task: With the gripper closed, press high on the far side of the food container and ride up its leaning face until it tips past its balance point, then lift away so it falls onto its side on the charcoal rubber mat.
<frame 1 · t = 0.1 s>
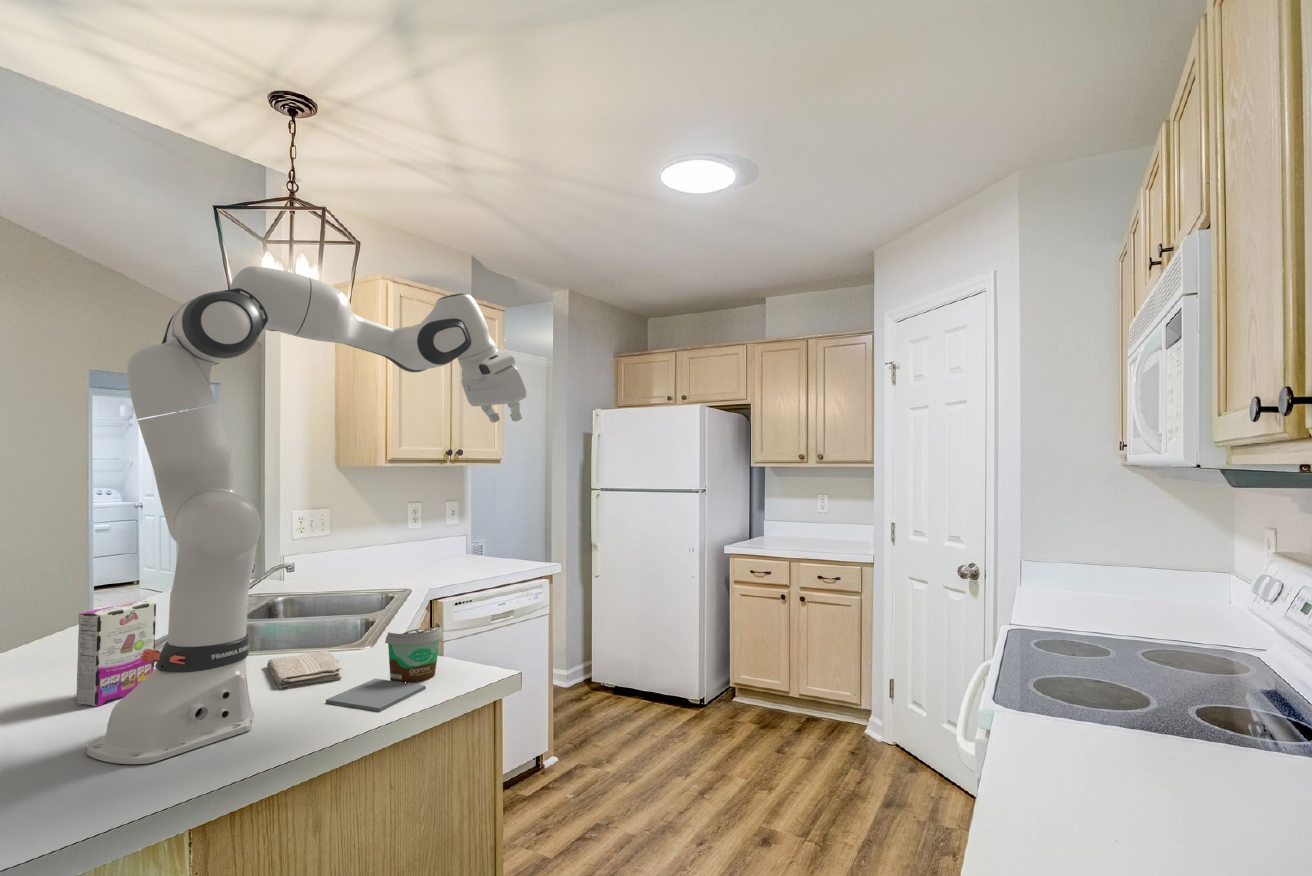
hand: (506, 420, 153), 54 cm above the countertop, tool tilted 30°, fingers open, 8 cm apart
washcloth: (304, 676, 140), on the countertop
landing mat: (377, 695, 128), on the countertop
candy bar box: (115, 697, 125), on the countertop
food container: (419, 679, 138), on the countertop
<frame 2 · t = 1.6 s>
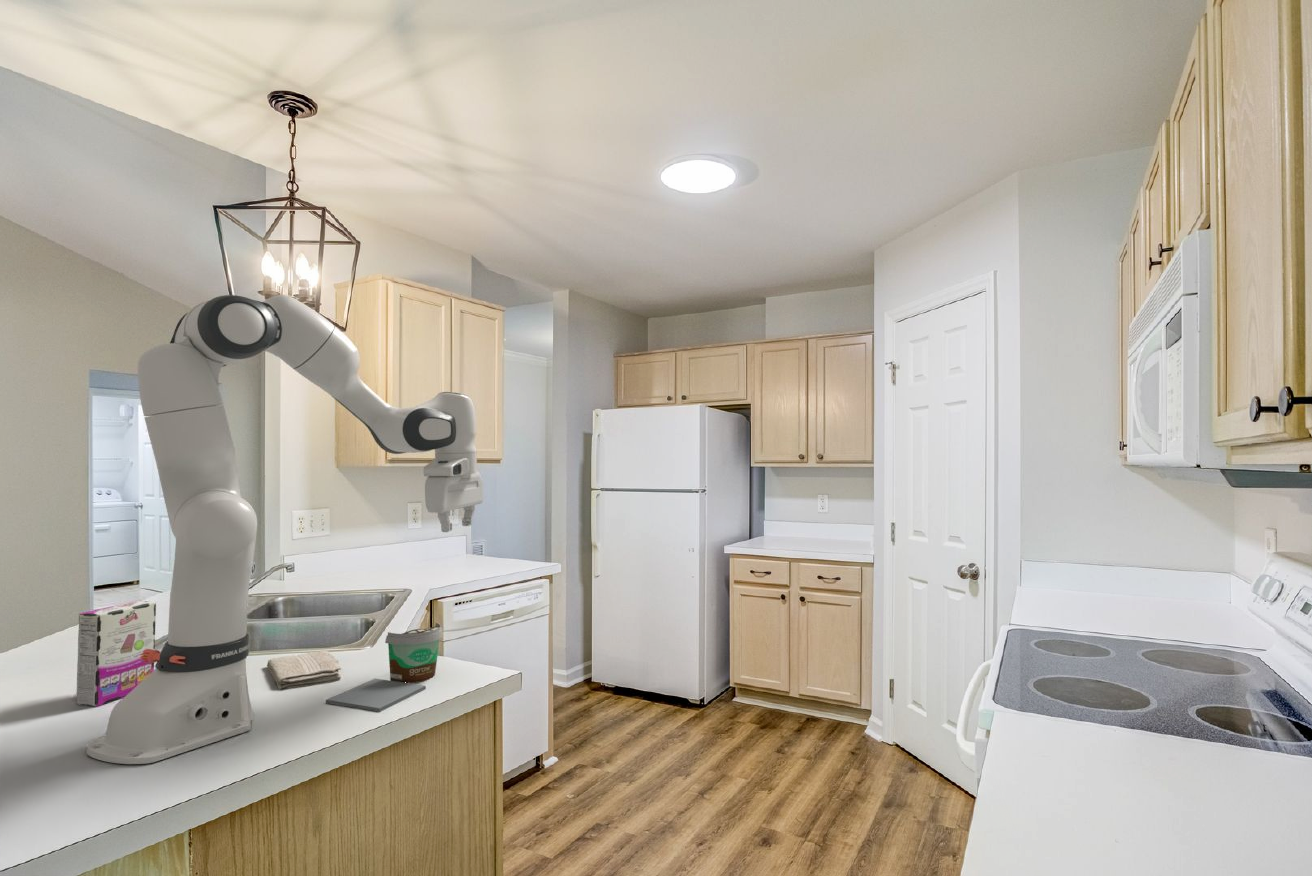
hand: (457, 528, 149), 30 cm above the countertop, tool pointing down, fingers open, 8 cm apart
nothing on the countertop moved.
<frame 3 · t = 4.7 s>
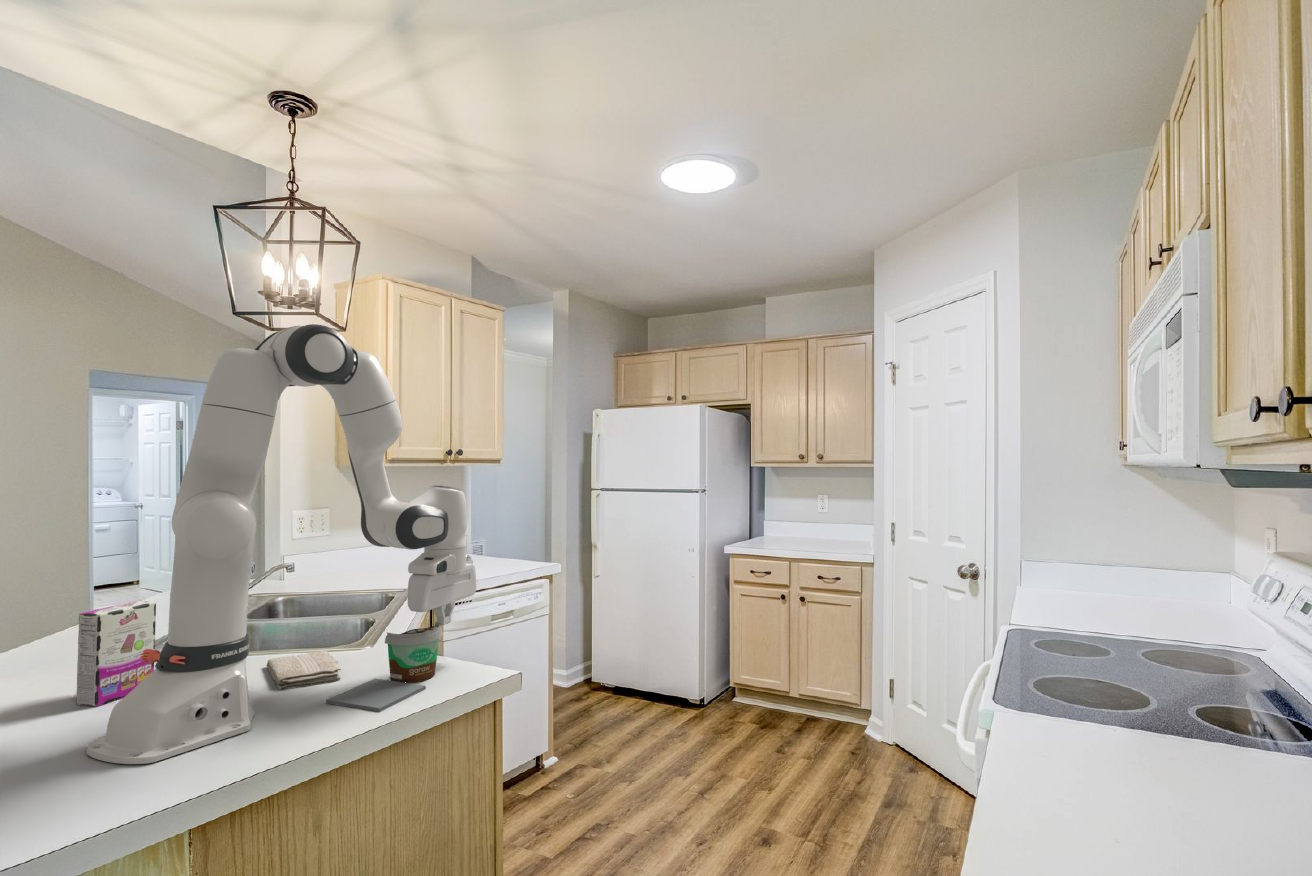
hand: (443, 624, 146), 9 cm above the countertop, tool pointing down, fingers closed
food container: (419, 679, 138), on the countertop, touching gripper
everything else where it was.
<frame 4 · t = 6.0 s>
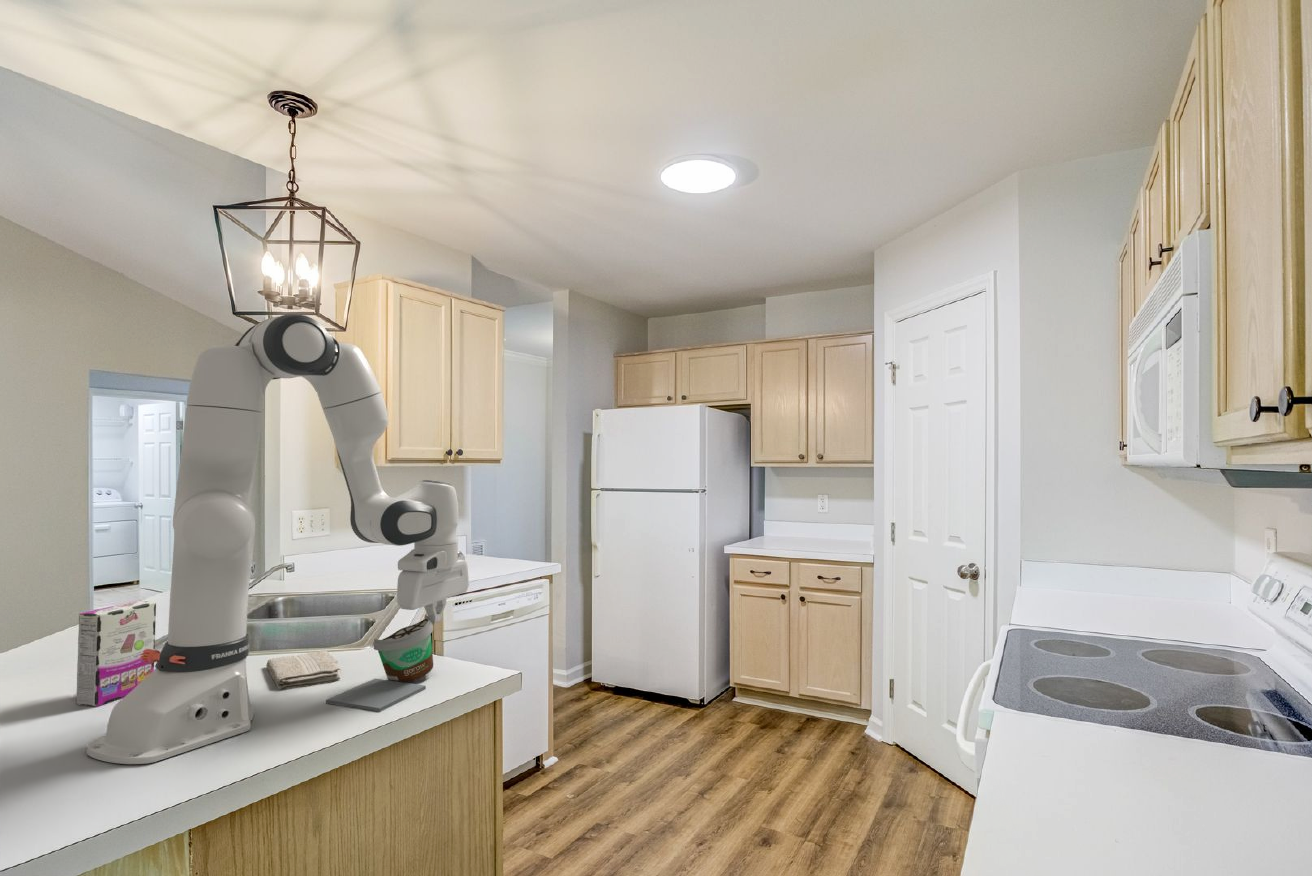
hand: (435, 622, 143), 11 cm above the countertop, tool pointing down, fingers closed
food container: (417, 675, 138), point 1 cm above the countertop, touching gripper
everything else where it was.
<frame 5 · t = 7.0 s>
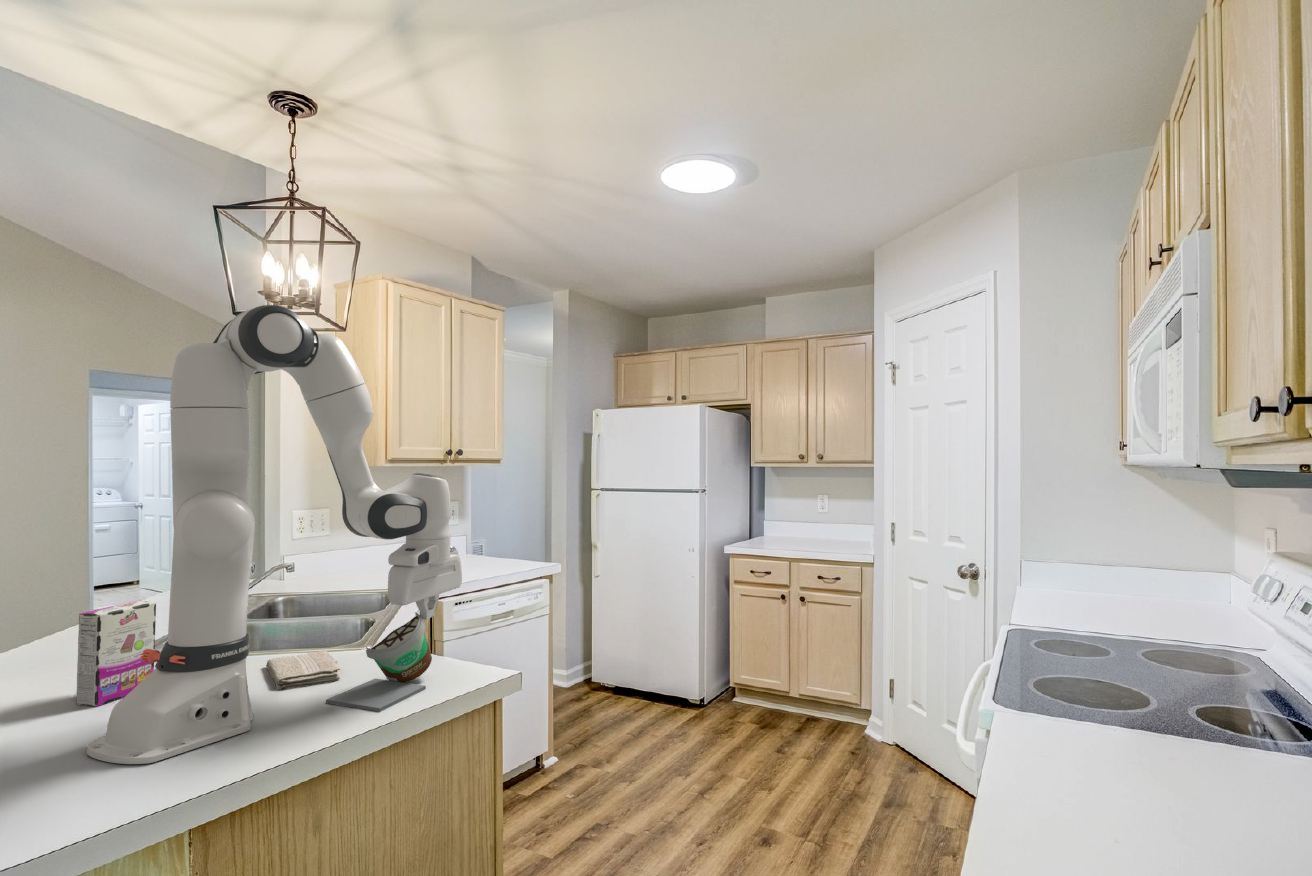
hand: (427, 618, 140), 12 cm above the countertop, tool pointing down, fingers closed
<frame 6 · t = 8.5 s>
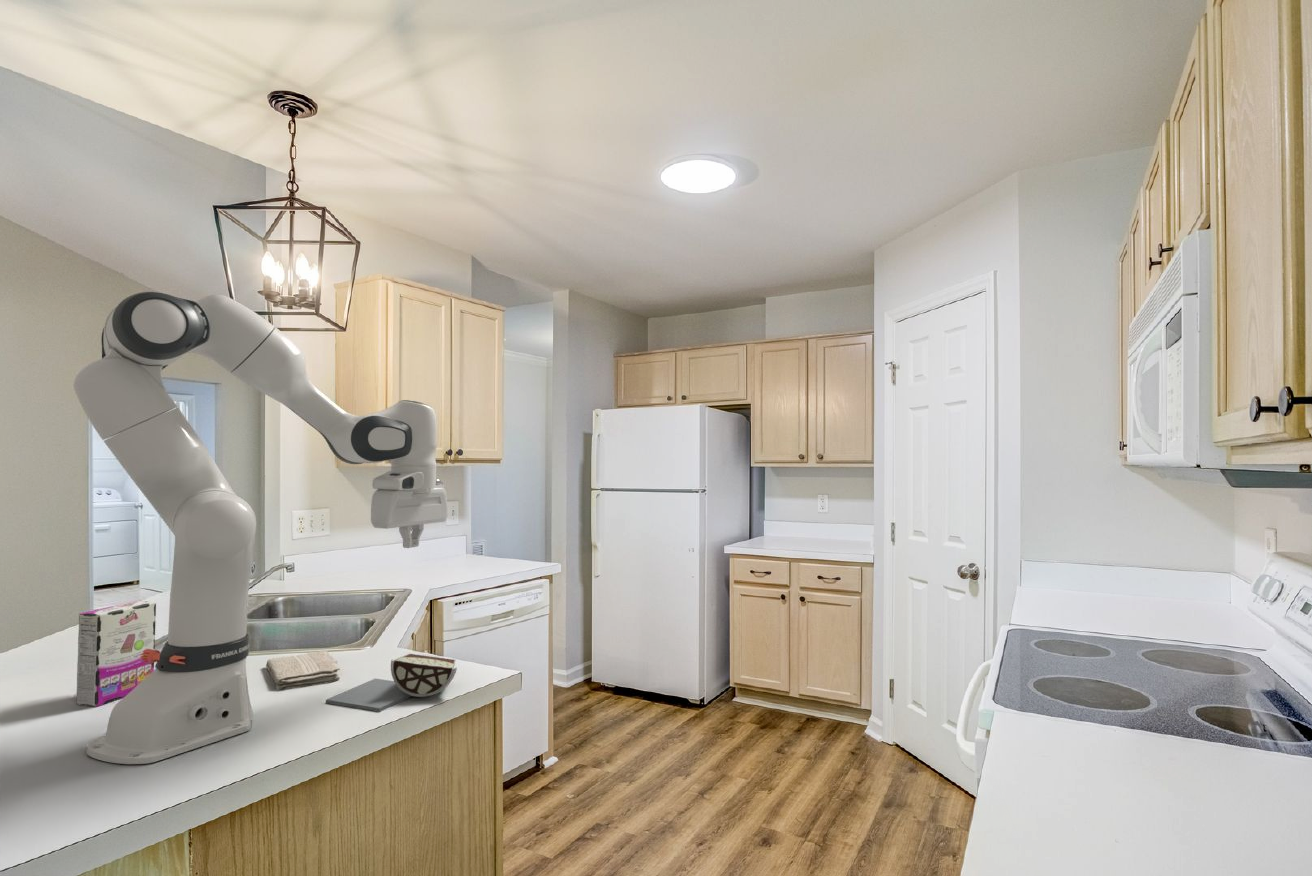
hand: (410, 547, 138), 27 cm above the countertop, tool pointing down, fingers closed
food container: (429, 672, 136), point 2 cm above the countertop, touching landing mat
everything else where it was.
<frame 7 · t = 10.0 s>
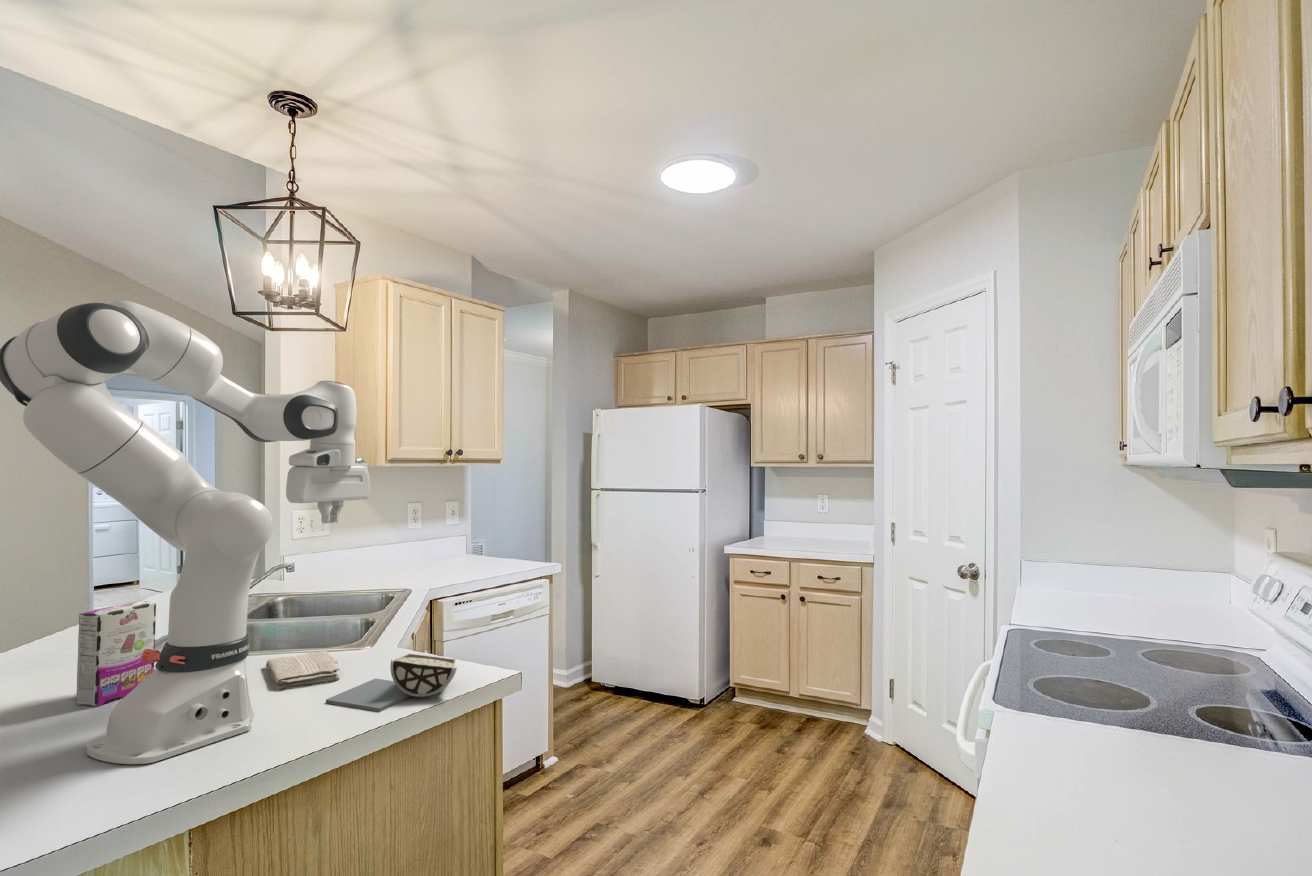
hand: (329, 522, 144), 31 cm above the countertop, tool pointing down, fingers closed
nothing on the countertop moved.
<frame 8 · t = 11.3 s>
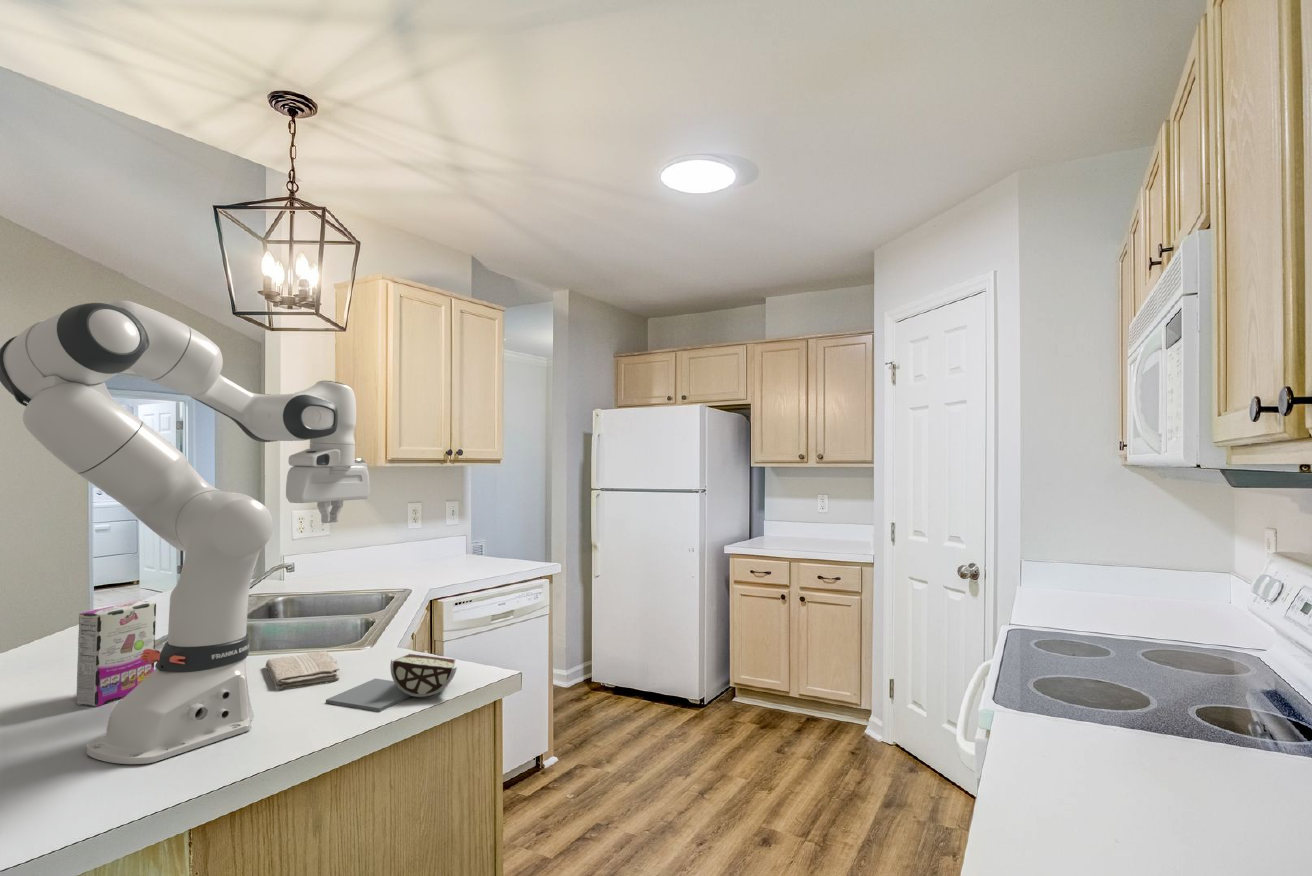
hand: (329, 522, 144), 31 cm above the countertop, tool pointing down, fingers closed
nothing on the countertop moved.
at the end: food container tilted 83°; food container touching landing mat, countertop; food container inside the target area (4.8 cm from its centre), point 2.1 cm above the countertop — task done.
